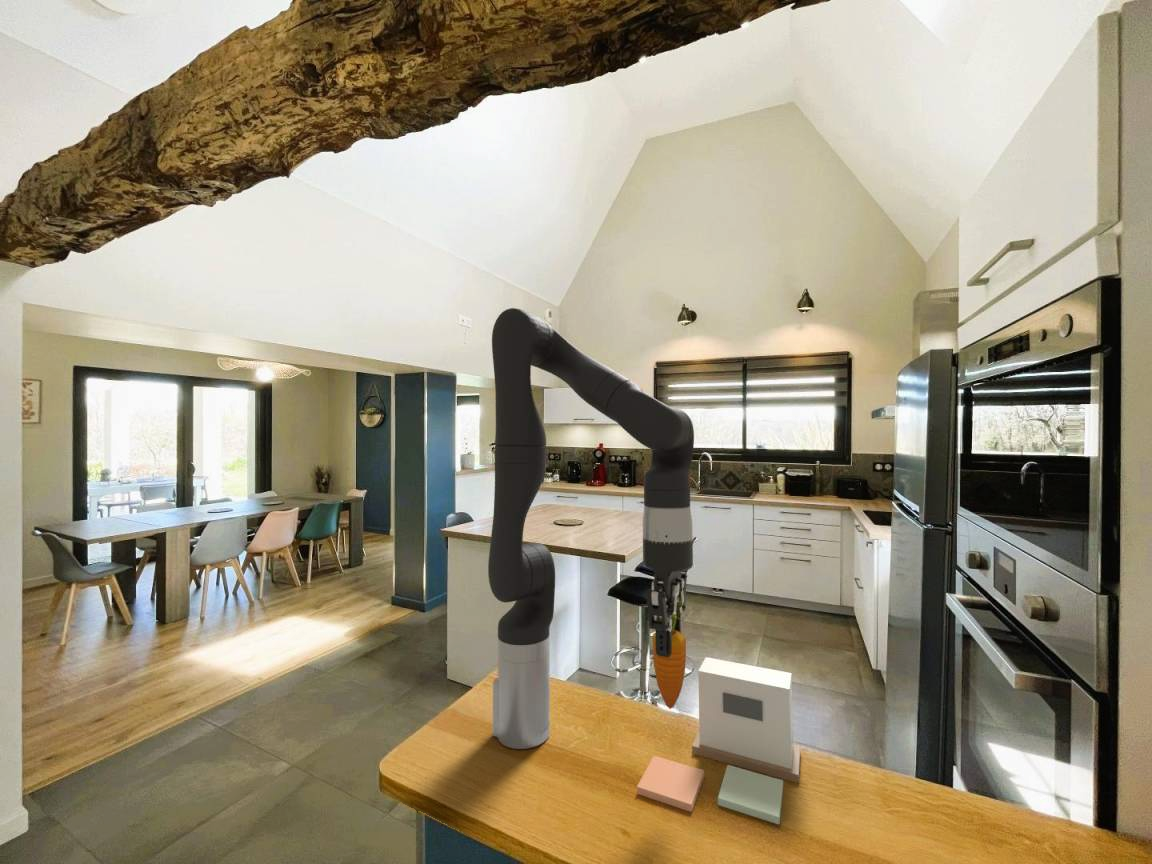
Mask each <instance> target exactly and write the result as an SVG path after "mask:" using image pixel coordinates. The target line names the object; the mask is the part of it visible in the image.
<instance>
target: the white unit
mask: <svg viewBox="0 0 1152 864" xmlns="http://www.w3.org/2000/svg"><path fill="white" fill-rule="evenodd" d="M697 674H698V722H699V723H698V725H699V726H698V727H699V728H698V731H697V734H696V736H695V737H694V738H695V739H694V740H693V743H692V744H691V745H692V746H691V752H692V754H693V755H697V756H701V757H704V758H708V759H711V760H715V761H718V762H721V763H725V764H727V765H731V766H735V767H738V768H742V769H743V768H744V769H745V770H749V771H752V772H756V773H759V774H763V775H766V776H770V777H771V776H772V777H774V778H777V779H781V780H786V781H789V782H793V783H796V784H799V781H800V767H801V764H800V763H801V745H798V744H795V743H794V728H793V727H794V726H793V725H794V724H793V723H794V720H793V719H794V718H793V716H794V715H793V681H792V679H793V678H792V677H793V676H792V672H787V671H782V670H777V669H772V668H771V669H770V668H765V667H761V666H755V665H750V664H746V663H739V662H733V661H729V660H724V659H718V658H713V657H712V658H711V657H707V656H705V658H704V660H703V662H702V663H701V665H700V667H699V669H698V673H697ZM792 745H794V746H797V747H793V746H792ZM798 747H800V748H798Z"/></svg>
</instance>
